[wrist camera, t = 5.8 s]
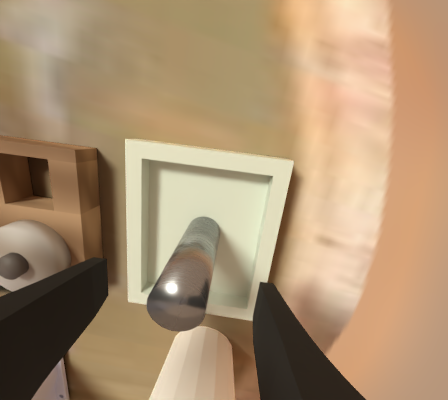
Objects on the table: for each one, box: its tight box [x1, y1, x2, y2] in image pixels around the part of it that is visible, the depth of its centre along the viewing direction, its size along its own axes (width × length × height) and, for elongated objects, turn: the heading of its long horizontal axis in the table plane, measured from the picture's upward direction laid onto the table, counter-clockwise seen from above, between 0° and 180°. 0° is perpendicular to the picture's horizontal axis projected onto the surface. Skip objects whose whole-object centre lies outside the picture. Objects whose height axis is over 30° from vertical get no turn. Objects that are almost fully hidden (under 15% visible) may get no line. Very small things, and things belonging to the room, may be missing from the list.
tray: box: [125, 139, 294, 321], centre depth 15 cm, size 12×10×2 cm
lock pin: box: [147, 216, 220, 331], centre depth 12 cm, size 2×2×7 cm
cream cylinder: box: [149, 326, 235, 400], centre depth 16 cm, size 7×7×7 cm
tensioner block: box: [0, 135, 103, 292], centre depth 14 cm, size 10×7×4 cm
